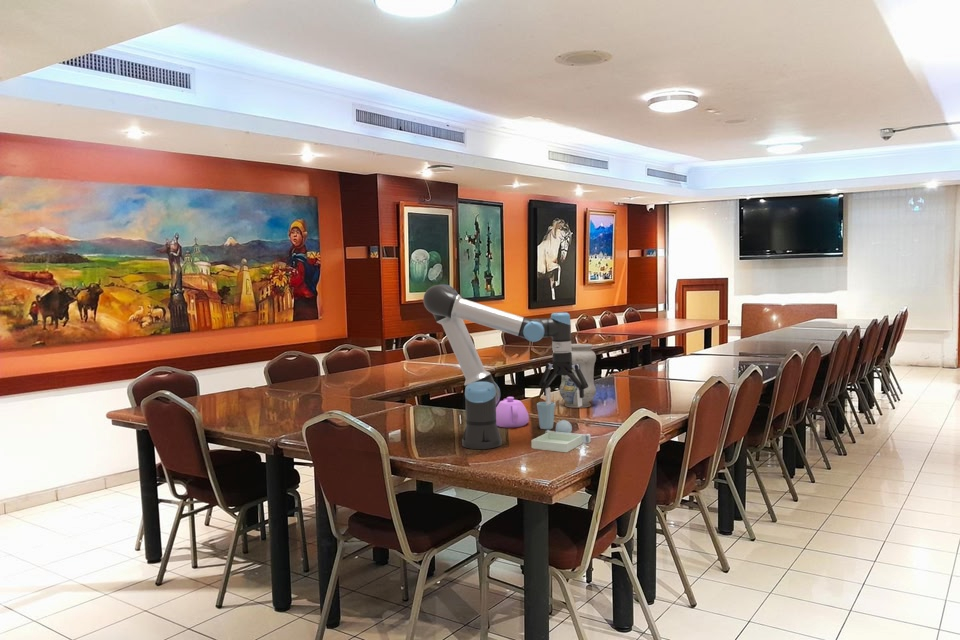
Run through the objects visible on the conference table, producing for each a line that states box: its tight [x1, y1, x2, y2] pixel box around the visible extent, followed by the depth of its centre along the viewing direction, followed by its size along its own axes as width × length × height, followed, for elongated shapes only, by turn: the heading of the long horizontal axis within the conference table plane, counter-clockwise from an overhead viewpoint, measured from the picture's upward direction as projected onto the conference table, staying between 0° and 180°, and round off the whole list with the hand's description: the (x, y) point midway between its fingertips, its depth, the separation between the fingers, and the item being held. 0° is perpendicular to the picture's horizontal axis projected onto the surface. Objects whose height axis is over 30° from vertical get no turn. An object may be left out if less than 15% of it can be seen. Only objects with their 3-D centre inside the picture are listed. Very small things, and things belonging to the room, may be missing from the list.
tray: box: [530, 432, 583, 453], centre depth 259 cm, size 14×14×3 cm
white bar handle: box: [544, 429, 591, 444], centre depth 267 cm, size 18×2×3 cm, turn 59°
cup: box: [536, 401, 556, 430], centre depth 290 cm, size 8×8×10 cm
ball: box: [555, 419, 573, 433], centre depth 274 cm, size 6×6×6 cm
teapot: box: [496, 396, 530, 429], centre depth 299 cm, size 22×16×12 cm
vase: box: [558, 343, 597, 409], centre depth 335 cm, size 18×18×30 cm
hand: (564, 405), depth 273 cm, fingers open, 13 cm apart
